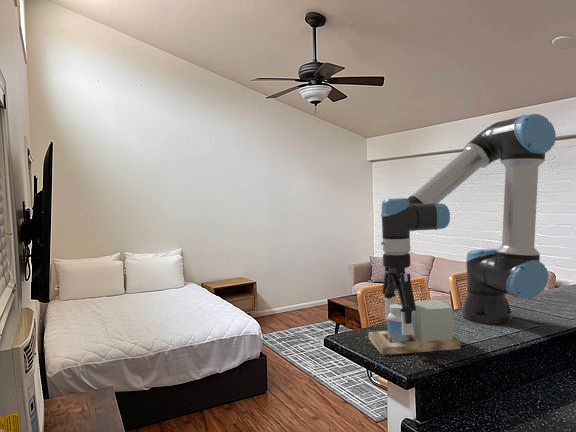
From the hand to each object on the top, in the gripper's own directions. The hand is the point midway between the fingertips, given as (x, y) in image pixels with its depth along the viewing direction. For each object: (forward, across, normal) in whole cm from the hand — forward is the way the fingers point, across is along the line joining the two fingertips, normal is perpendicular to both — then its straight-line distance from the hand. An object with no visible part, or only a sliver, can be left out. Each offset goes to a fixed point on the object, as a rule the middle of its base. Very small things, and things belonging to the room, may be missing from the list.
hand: (398, 326), depth 119 cm
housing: (+3, 0, +10) cm, 10 cm away
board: (+5, 0, +4) cm, 7 cm away
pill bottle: (+5, 0, 0) cm, 5 cm away
